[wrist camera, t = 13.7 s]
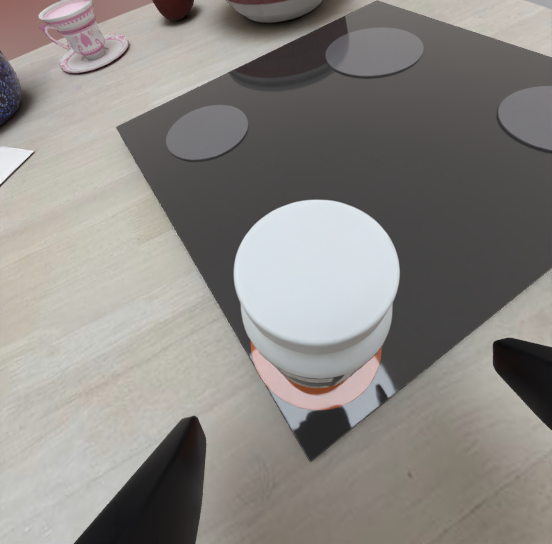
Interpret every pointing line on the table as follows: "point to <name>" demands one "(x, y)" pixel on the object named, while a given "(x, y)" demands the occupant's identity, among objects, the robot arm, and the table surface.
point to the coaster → (11, 160)
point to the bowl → (273, 9)
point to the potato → (174, 8)
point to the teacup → (81, 36)
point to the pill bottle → (317, 289)
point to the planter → (8, 90)
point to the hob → (369, 181)
